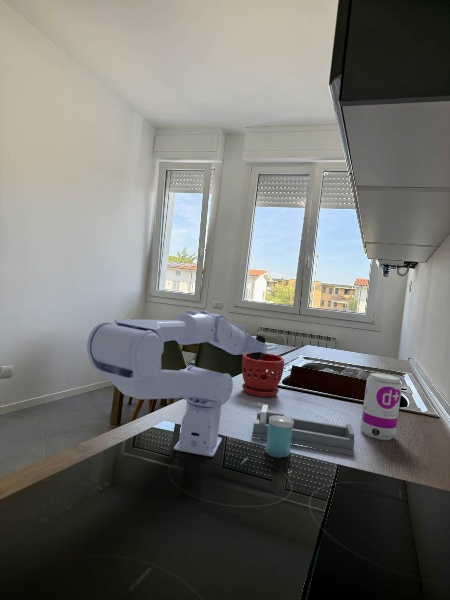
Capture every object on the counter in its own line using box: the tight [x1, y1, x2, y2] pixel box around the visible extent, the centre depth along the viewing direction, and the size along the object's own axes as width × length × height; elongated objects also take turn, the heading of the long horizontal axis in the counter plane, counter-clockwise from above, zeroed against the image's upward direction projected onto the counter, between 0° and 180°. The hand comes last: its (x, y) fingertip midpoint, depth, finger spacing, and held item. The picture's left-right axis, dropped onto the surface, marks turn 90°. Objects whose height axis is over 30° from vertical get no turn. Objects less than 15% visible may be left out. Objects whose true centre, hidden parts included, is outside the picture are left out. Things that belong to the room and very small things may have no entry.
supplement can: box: [360, 372, 403, 441], centre depth 106 cm, size 8×8×15 cm
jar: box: [265, 415, 294, 459], centre depth 87 cm, size 5×5×7 cm
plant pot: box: [241, 352, 285, 398], centre depth 133 cm, size 13×13×12 cm
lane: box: [251, 411, 355, 457], centre depth 97 cm, size 11×22×4 cm, turn 80°
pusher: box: [260, 404, 285, 424], centre depth 98 cm, size 6×5×4 cm
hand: (249, 348), depth 104 cm, fingers open, 7 cm apart
